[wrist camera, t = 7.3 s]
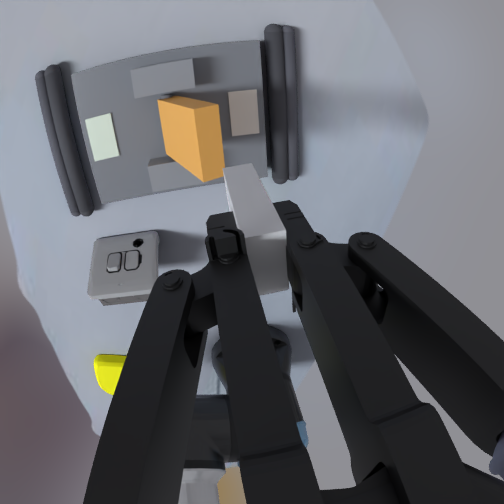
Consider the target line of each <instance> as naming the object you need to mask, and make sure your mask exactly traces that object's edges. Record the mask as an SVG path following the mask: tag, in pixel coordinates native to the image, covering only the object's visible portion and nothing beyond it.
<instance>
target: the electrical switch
mask: <svg viewBox="0 0 504 504" xmlns="http://www.w3.org/2000/svg"><path fill="white" fill-rule="evenodd" d="M158 244H159V236H158V233H157V232H156V231H148V232H141V233H134V234H127V235H120V236H113V237H107V238H100V239H97V240H96V241H95V242H94V247H93V254H92V260H91V267H90V275H89V282H88V291H87V293H88V295H89V297H90V299H91V300H97V299H98V300H100V301H101V303H102V304H103V306H106V305H116V304H125V303H134V302H143V301H147V300H148V298H149V295H150V292H151V290H152V287H153V285H154V283H155V281H156V280H157V278H158Z"/></svg>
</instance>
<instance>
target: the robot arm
mask: <svg viewBox="0 0 504 504" xmlns="http://www.w3.org/2000/svg"><path fill="white" fill-rule="evenodd" d="M223 174H224V180H225V186H226V192H227V199H228V205H229V211H230V212H226V213H220V214H215V215H210V217H209V218H208V220H207V222H206V225H207V234H208V236H207V237H206V239H205V245H206V249H207V253H208V257H209V263H208V264H207V265H206V266H205V267H204V268H203V269H202V270H200V271H198V272H196V273H194V274H192V275H190V274H189V273H188V272H186V271H184V270H178V269H177V270H171V271H168V272H166V273H163V274H162V275H161V276H159V277H158V278H157V280H156V281H155V283H154V285H153V287H152V290H151V292H150V295H149V298H148V300H147V303H146V305H145V308H144V310H143V313H142V316H141V318H140V321H139V323H138V326H137V329H136V332H135V334H134V337H133V340H132V342H131V345H130V348H129V351H128V354H127V356H126V359H125V362H124V365H123V368H122V371H121V374H120V377H119V380H118V383H117V386H116V389H115V392H114V395H113V398H112V401H111V404H110V407H109V411H108V414H107V417H106V420H105V424H104V427H103V430H102V434H101V437H100V440H99V444H98V447H97V451H96V455H95V458H94V462H93V466H92V469H91V473H90V477H89V481H88V485H87V489H86V494H85V498H84V502H83V504H220V503H219V495H218V488H217V483H218V481H219V480H220V479H221V478H222V476H223V475H224V474H225V473H226V471H225V463H227V462H238V463H237V464H238V466H239V467H240V472H241V477H242V483H243V488H244V493H245V498H246V503H247V504H504V481H502V480H500V479H498V478H495V477H493V476H491V475H489V474H487V473H484V472H482V471H480V470H478V469H476V468H474V467H472V466H469V465H467V464H465V463H463V462H462V461H461V459H460V457H459V454H458V452H457V450H456V448H455V446H454V444H453V442H452V440H451V437H450V436H449V433H448V431H447V429H446V427H445V425H444V423H443V421H442V419H441V417H440V415H439V414H438V412H437V411H436V409H435V408H434V407H433V406H432V405H430V403H423V402H421V401H420V400H419V399H418V398H417V396H416V394H415V393H414V391H413V389H412V387H411V385H410V383H409V381H408V379H407V377H406V375H405V373H404V371H403V370H402V368H401V366H400V364H399V362H398V360H397V358H396V357H395V355H396V356H397V357H398V358H399V359H400V361H401V362H402V363H403V364H404V365H405V366H406V367H407V368H408V369H409V371H410V372H411V373H412V374H413V375H414V376H415V377H416V378H417V379H418V380H419V382H420V383H421V384H422V385H423V386H424V387H425V388H426V390H427V391H428V392H429V393H430V394H431V395H432V396H433V397H434V399H435V400H436V401H437V402H438V403H439V404H440V405H441V407H442V408H443V409H444V410H445V411H446V412H447V414H448V415H449V416H450V417H451V418H452V419H453V421H454V422H455V423H456V424H457V425H458V426H459V428H460V429H461V430H462V431H463V432H464V433H465V435H466V436H467V437H468V438H469V439H470V440H471V441H472V442H473V443H474V444H475V445H477V446H478V447H479V448H480V449H481V450H483V451H484V452H485V453H487V454H489V455H490V456H492V457H493V459H492V460H491V461H490V464H489V470H490V472H491V473H492V474H494V475H500V476H501V477H502V478H503V479H504V342H503V340H502V339H500V337H499V336H497V335H496V334H495V333H494V332H493V331H492V330H491V329H490V328H489V327H488V326H487V325H486V324H485V323H483V322H482V321H481V320H480V319H479V318H478V317H477V316H476V315H475V314H474V313H472V312H471V311H470V310H469V309H468V308H467V307H466V306H464V305H463V304H462V303H461V302H460V301H459V300H458V299H457V298H455V297H454V296H453V295H452V294H450V293H449V292H448V291H447V290H446V289H445V288H444V287H442V286H441V285H440V284H439V283H438V282H436V281H435V280H434V279H432V277H430V276H429V275H428V274H427V273H426V272H424V271H423V270H422V269H421V268H419V267H418V266H417V265H416V264H414V263H413V262H412V261H411V260H409V259H408V258H407V257H406V256H404V255H403V254H402V253H401V252H399V251H398V250H397V249H395V248H394V247H393V246H391V245H390V244H389V243H388V242H386V241H385V240H383V239H382V238H381V237H380V236H378V235H376V234H373V233H369V232H360V233H355V234H354V235H352V236H351V237H350V239H349V242H348V244H336V243H329V242H328V241H327V240H326V238H325V237H324V236H323V235H321V234H319V233H316V232H314V231H313V229H312V228H311V226H310V225H309V223H308V221H307V220H306V218H305V217H304V215H303V213H302V212H301V210H300V209H299V207H298V205H297V204H295V203H293V202H291V201H290V200H287V201H282V202H276V203H272V201H271V200H270V198H269V196H268V194H267V192H266V190H265V188H264V186H263V184H262V182H261V180H260V178H259V176H258V174H257V172H256V170H255V169H254V167H253V165H252V163H249V164H243V165H237V166H232V167H226V168H223ZM289 282H290V284H291V287H292V305H293V312H296V309H297V311H298V314H299V317H300V319H301V322H302V325H303V327H304V330H305V332H306V335H307V338H308V340H309V343H310V346H311V348H312V351H313V354H314V356H315V359H316V362H317V364H318V367H319V370H320V372H321V375H322V378H323V380H324V383H325V386H326V389H327V391H328V394H329V397H330V400H331V402H332V405H333V408H334V410H335V413H336V416H337V418H338V422H339V424H340V427H341V430H342V433H343V435H344V438H345V441H346V444H347V447H348V449H349V453H350V457H351V468H352V473H353V476H354V479H355V482H356V486H355V487H352V488H346V489H333V490H320V489H319V486H318V483H317V479H316V476H315V473H314V469H313V466H312V463H311V460H310V457H309V454H308V452H307V449H306V447H307V445H308V436H307V431H306V427H305V426H306V423H305V421H304V420H303V416H302V413H301V410H300V407H299V404H298V401H297V397H296V394H295V391H294V388H293V385H292V382H291V378H290V369H291V354H292V351H291V346H290V343H289V340H288V338H287V336H286V335H285V334H284V333H283V332H282V331H280V330H278V329H276V328H273V327H269V326H268V324H267V321H266V317H265V314H264V310H263V307H262V304H261V300H260V297H259V296H260V295H265V294H269V293H274V292H279V291H284V290H288V289H289ZM378 284H379V285H380V286H381V287H382V288H383V289H382V288H380V287H379V286H378ZM215 325H218V328H219V335H220V340H218V342H217V343H216V344H215V345H214V347H213V349H212V362H213V367H214V369H215V371H216V373H217V375H218V377H219V378H220V380H221V382H222V384H223V385H224V387H225V389H226V392H227V395H196V394H197V388H198V382H199V377H200V372H201V366H202V361H203V355H204V350H205V345H206V340H207V334H208V329H209V328H211V327H213V326H215ZM394 354H395V355H394Z"/></svg>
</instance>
